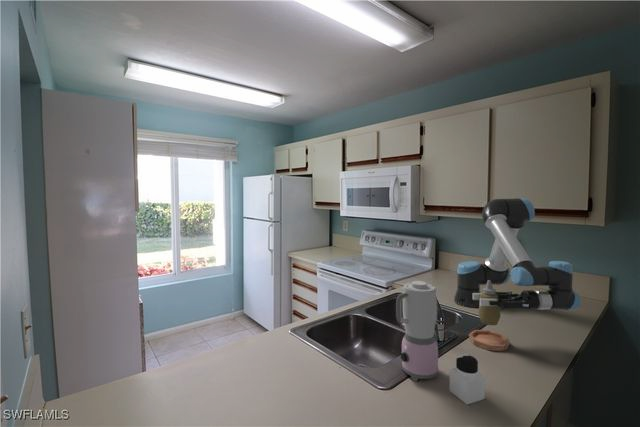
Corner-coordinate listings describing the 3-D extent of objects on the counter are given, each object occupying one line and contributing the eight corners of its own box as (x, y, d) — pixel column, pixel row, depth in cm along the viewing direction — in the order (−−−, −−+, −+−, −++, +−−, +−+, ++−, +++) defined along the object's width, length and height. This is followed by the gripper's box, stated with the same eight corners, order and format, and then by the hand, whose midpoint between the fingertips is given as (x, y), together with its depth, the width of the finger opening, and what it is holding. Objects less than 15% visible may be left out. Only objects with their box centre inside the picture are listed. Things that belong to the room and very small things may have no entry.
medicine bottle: (485, 399, 91) (485, 361, 90) (467, 405, 89) (467, 366, 88) (466, 385, 98) (466, 349, 97) (449, 390, 95) (449, 354, 95)
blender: (422, 359, 114) (422, 276, 112) (446, 377, 102) (446, 285, 101) (387, 368, 108) (386, 281, 107) (408, 388, 97) (407, 291, 95)
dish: (465, 334, 133) (465, 329, 133) (498, 335, 132) (498, 330, 132) (478, 350, 119) (478, 345, 119) (515, 351, 118) (515, 346, 118)
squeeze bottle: (503, 327, 120) (503, 283, 120) (481, 326, 122) (481, 282, 121) (496, 319, 128) (496, 278, 127) (475, 318, 130) (475, 277, 129)
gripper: (550, 318, 113) (487, 317, 116) (521, 300, 133) (467, 300, 135) (551, 298, 113) (487, 298, 115) (521, 284, 132) (467, 283, 135)
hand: (476, 299), depth 125 cm, fingers closed on squeeze bottle, 6 cm apart
